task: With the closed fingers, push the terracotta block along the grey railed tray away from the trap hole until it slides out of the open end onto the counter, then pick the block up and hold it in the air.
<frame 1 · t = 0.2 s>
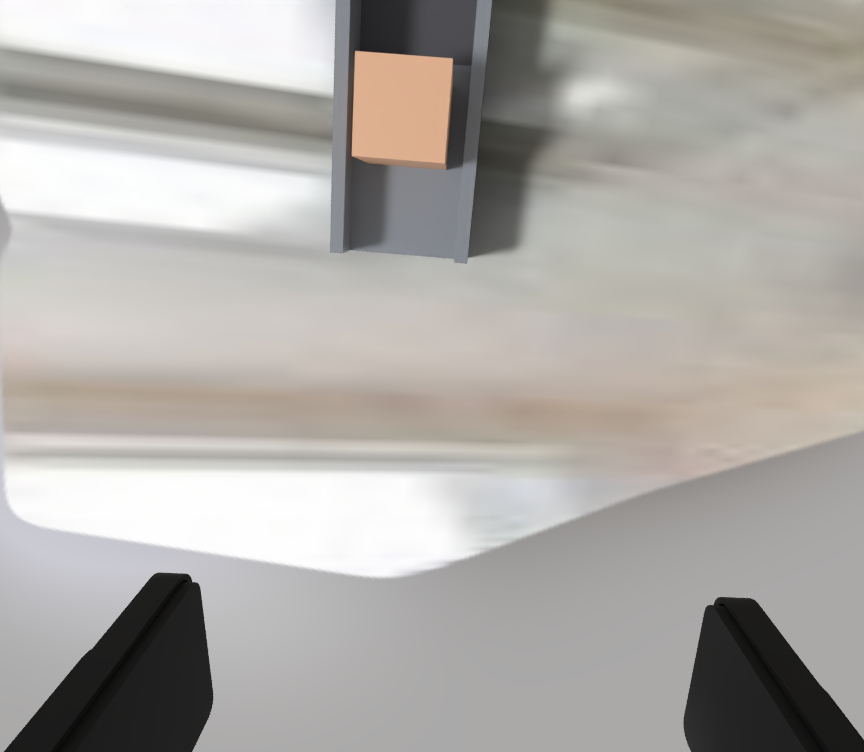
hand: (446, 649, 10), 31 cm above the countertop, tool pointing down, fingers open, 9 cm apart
grey railed tray: (413, 92, 35), on the countertop
block: (410, 124, 35), point 1 cm above the countertop, touching grey railed tray
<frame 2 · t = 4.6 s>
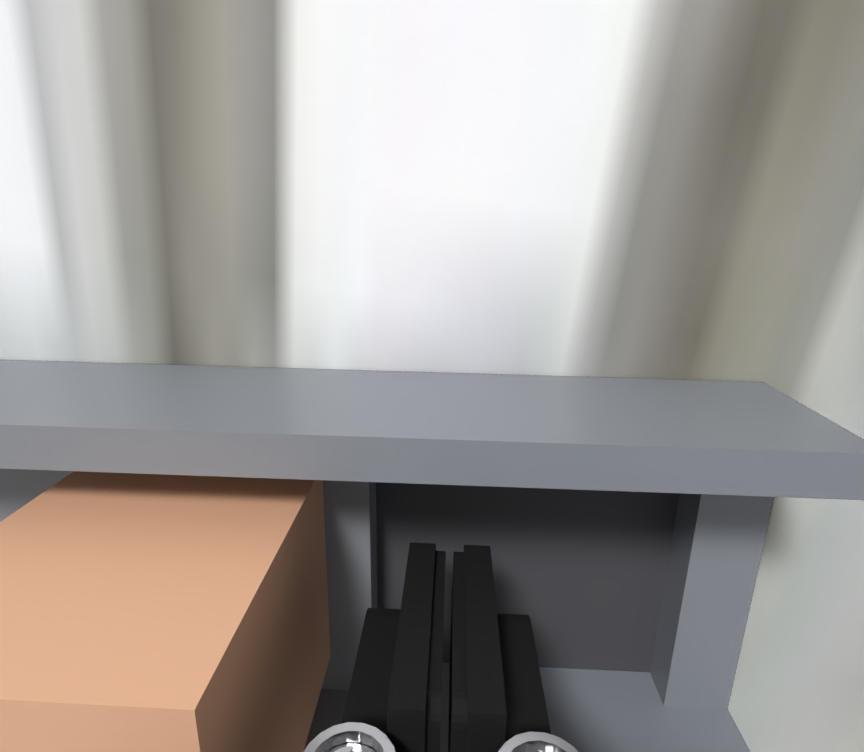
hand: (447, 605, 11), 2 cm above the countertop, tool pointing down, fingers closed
grey railed tray: (317, 535, 14), on the countertop
block: (217, 561, 13), point 1 cm above the countertop, touching gripper, grey railed tray
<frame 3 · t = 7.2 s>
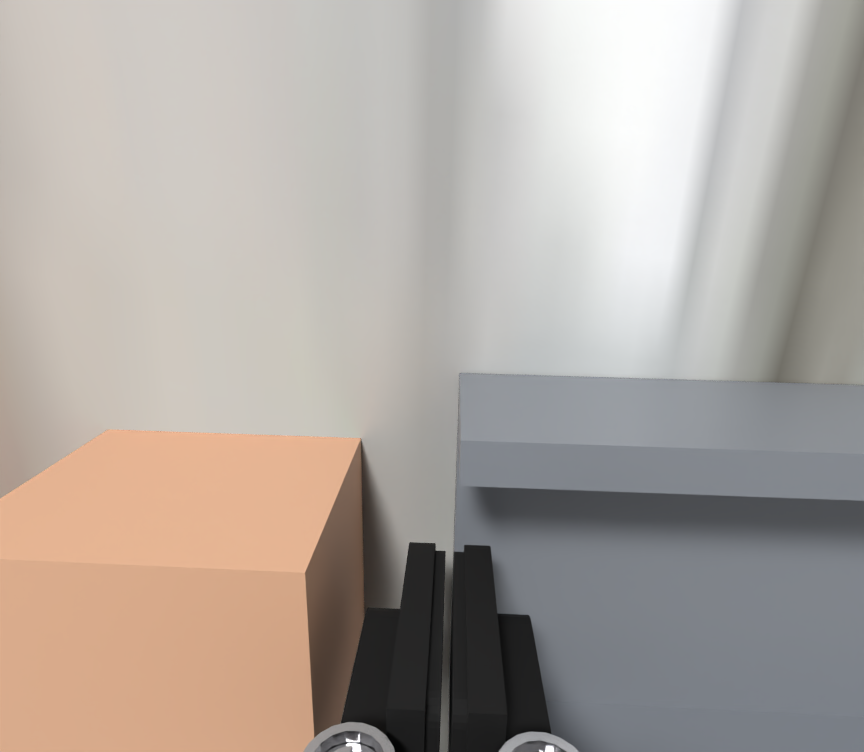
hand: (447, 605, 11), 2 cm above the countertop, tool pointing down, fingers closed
block: (343, 600, 11), point 2 cm above the countertop, tilted 90°
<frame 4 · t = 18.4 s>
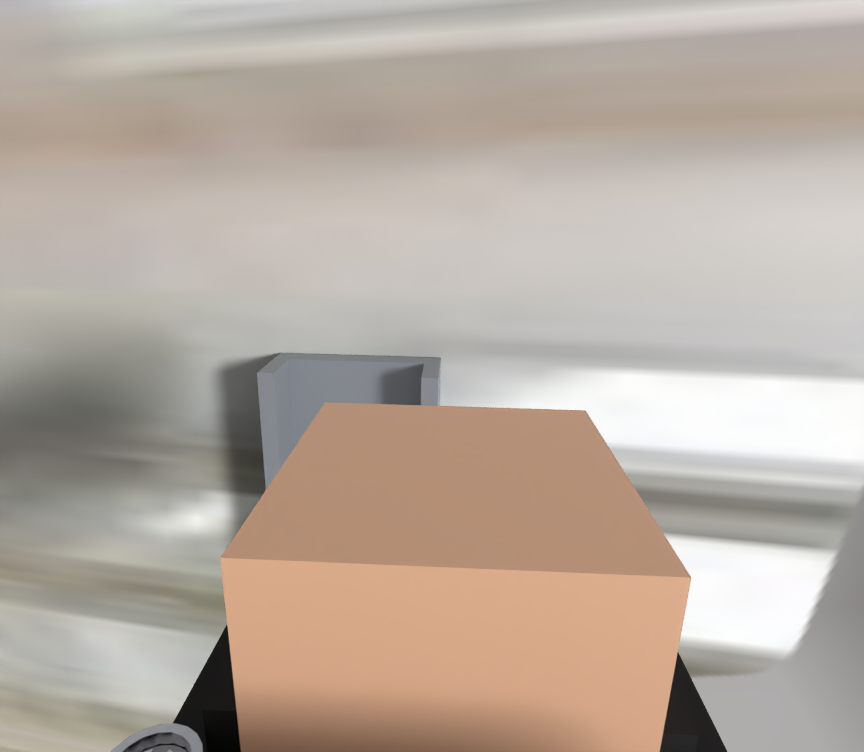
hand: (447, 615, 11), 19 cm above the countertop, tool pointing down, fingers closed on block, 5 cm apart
grey railed tray: (363, 519, 33), on the countertop
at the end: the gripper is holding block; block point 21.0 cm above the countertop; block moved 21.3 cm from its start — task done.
